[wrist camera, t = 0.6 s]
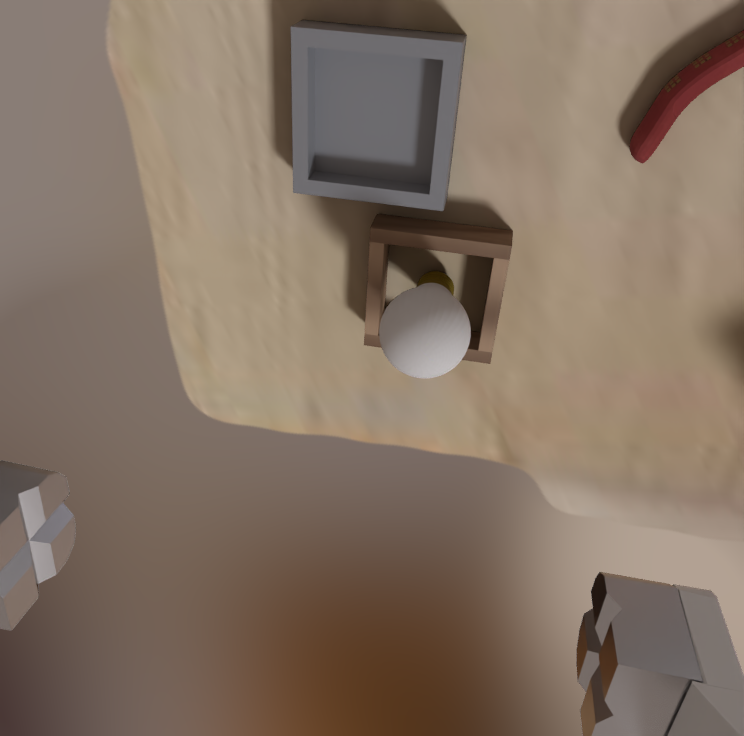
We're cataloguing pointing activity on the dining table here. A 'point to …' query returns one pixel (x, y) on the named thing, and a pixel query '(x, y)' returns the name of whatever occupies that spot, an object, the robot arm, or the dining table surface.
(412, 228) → the frame
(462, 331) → the light bulb
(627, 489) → the dining table surface
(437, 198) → the tray
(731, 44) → the pliers
